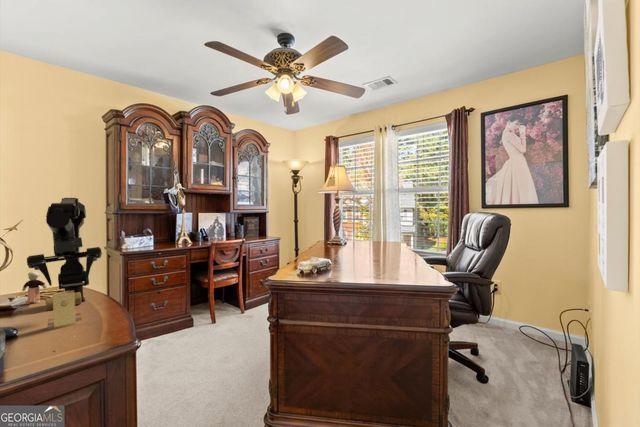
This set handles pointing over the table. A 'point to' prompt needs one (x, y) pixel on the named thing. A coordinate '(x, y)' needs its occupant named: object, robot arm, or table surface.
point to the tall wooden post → (64, 308)
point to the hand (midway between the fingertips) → (69, 282)
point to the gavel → (50, 301)
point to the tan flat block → (51, 326)
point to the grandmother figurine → (33, 288)
